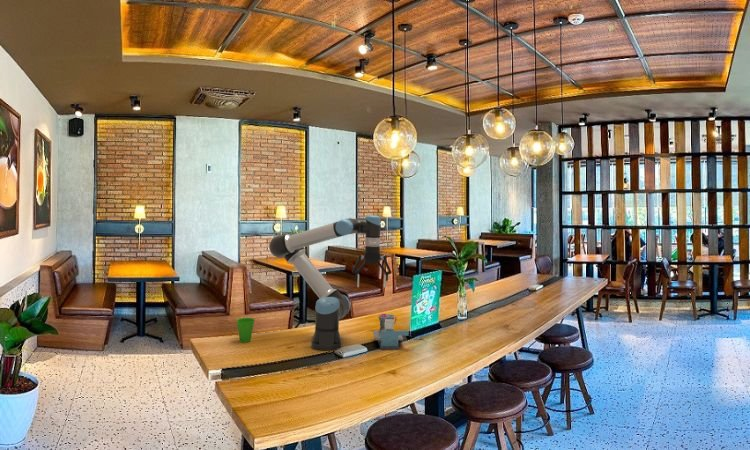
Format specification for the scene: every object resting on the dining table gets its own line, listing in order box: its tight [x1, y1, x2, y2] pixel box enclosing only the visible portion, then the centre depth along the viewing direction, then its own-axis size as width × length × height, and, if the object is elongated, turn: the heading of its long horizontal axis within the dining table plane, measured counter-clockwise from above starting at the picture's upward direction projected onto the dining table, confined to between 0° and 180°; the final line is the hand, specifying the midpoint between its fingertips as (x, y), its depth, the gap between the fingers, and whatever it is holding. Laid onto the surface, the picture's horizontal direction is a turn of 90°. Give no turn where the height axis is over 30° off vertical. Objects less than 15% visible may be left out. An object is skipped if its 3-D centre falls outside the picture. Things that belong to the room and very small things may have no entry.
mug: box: [377, 313, 397, 330], centre depth 259 cm, size 12×9×11 cm
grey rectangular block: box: [385, 319, 395, 330], centre depth 237 cm, size 4×4×12 cm
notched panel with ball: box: [372, 322, 410, 351], centre depth 240 cm, size 16×16×11 cm
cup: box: [236, 317, 256, 344], centre depth 238 cm, size 9×9×11 cm
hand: (371, 287), depth 242 cm, fingers open, 13 cm apart
